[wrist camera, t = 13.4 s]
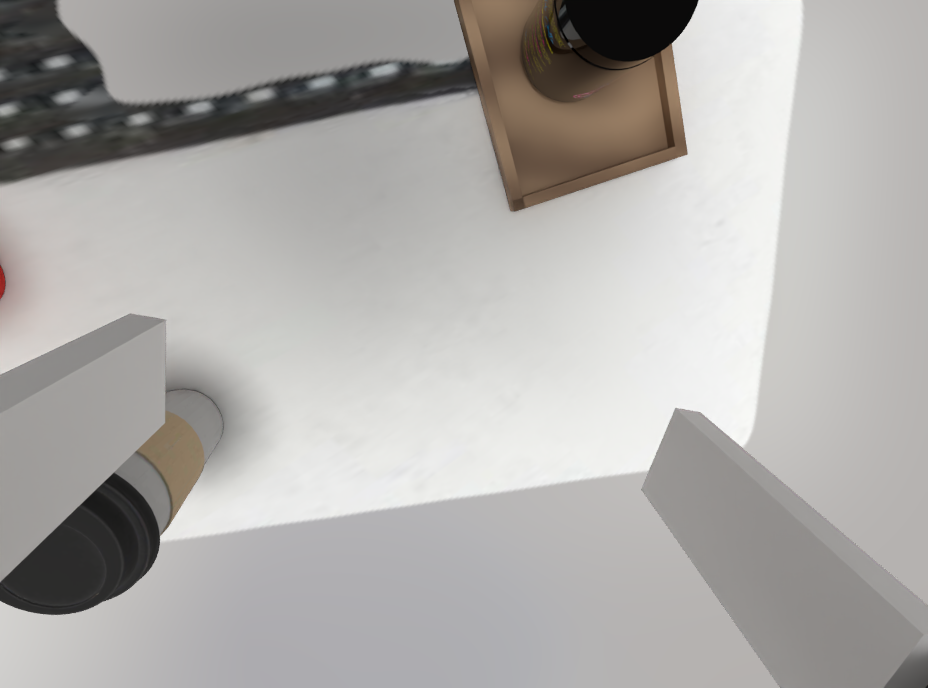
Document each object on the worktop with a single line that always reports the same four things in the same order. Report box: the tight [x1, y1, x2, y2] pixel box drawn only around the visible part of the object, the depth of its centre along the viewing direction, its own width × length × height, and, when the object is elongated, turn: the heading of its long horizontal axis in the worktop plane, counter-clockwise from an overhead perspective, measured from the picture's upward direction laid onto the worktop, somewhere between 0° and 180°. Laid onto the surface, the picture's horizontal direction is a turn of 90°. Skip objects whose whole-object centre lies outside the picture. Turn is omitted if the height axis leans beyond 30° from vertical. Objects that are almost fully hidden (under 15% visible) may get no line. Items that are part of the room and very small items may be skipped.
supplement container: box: [521, 0, 698, 102], centre depth 26 cm, size 7×7×10 cm
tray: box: [454, 0, 687, 211], centre depth 31 cm, size 18×13×2 cm
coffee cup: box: [0, 390, 223, 615], centre depth 31 cm, size 9×9×15 cm
